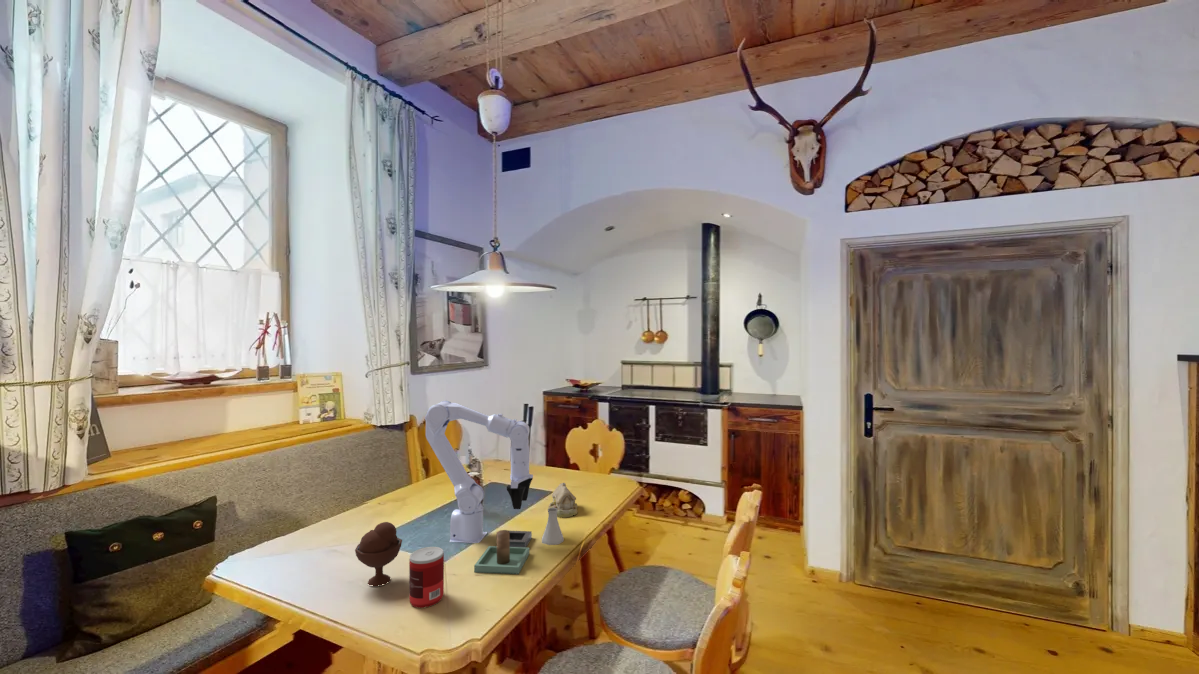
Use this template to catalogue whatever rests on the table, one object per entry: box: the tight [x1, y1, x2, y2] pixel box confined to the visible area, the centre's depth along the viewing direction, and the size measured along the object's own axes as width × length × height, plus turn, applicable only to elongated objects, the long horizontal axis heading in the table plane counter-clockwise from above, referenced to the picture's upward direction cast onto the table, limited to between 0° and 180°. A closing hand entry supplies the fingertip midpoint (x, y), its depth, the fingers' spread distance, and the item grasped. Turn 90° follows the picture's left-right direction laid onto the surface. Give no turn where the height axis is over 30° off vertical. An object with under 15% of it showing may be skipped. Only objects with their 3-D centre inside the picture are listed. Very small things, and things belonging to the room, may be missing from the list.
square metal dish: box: [508, 530, 533, 548], centre depth 145 cm, size 8×8×2 cm
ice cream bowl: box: [354, 521, 403, 586], centre depth 123 cm, size 11×11×15 cm
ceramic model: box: [547, 482, 578, 518], centre depth 174 cm, size 14×11×10 cm
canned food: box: [408, 546, 445, 609], centre depth 114 cm, size 8×8×11 cm
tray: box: [473, 545, 530, 575], centre depth 132 cm, size 12×12×2 cm
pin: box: [496, 529, 510, 564], centre depth 132 cm, size 4×4×8 cm
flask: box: [541, 508, 565, 546], centre depth 147 cm, size 7×7×10 cm
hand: (520, 504), depth 150 cm, fingers open, 7 cm apart
